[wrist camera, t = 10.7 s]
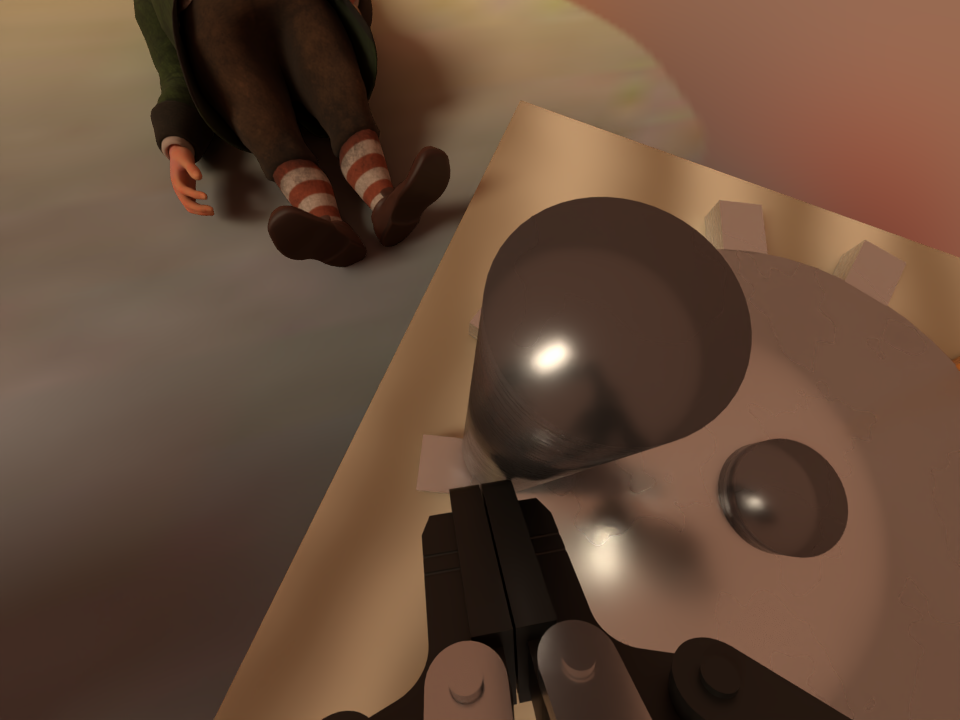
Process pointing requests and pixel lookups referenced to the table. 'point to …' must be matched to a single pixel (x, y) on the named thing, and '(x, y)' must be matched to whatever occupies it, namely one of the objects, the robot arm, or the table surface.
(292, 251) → the leprechaun
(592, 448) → the sprocket
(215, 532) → the table surface
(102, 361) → the table surface
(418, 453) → the base board
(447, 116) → the table surface
